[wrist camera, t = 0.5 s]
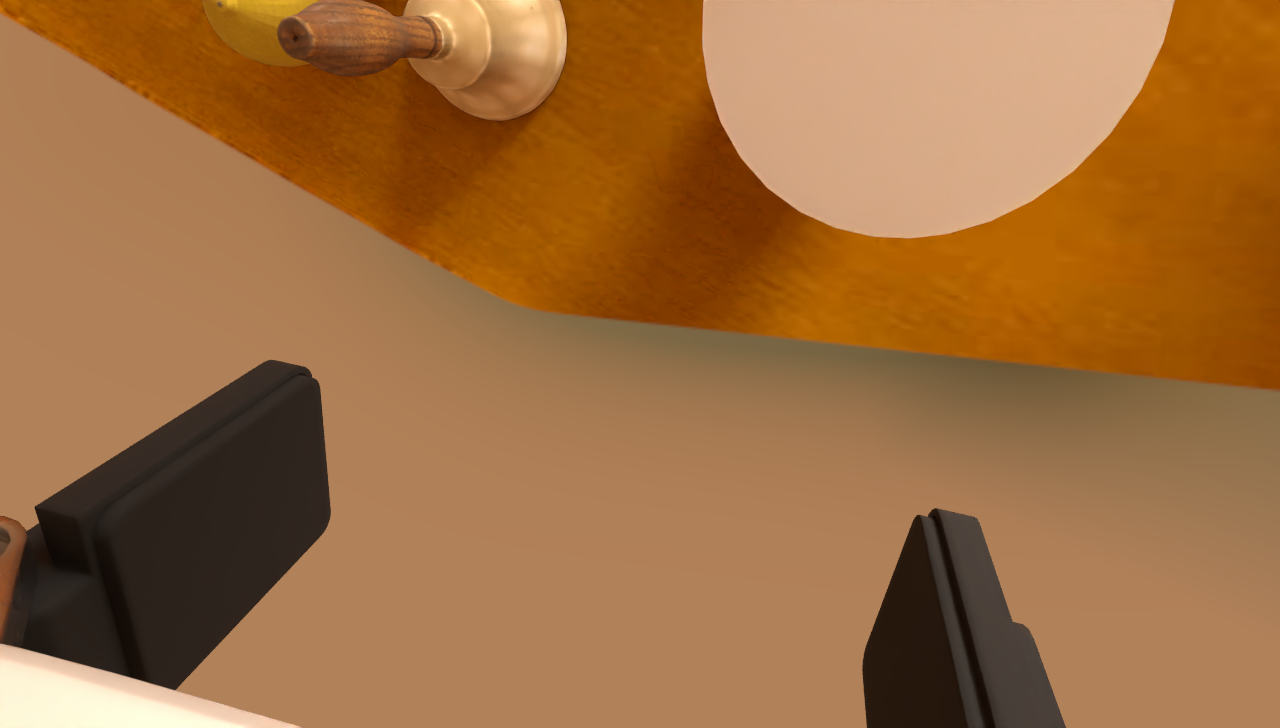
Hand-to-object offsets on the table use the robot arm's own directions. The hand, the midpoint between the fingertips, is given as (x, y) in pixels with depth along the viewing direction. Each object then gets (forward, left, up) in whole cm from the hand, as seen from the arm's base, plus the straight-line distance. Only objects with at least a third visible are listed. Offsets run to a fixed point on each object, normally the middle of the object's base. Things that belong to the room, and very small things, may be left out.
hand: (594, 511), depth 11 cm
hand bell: (+6, -13, -30) cm, 33 cm away
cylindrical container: (-8, -2, -30) cm, 31 cm away
